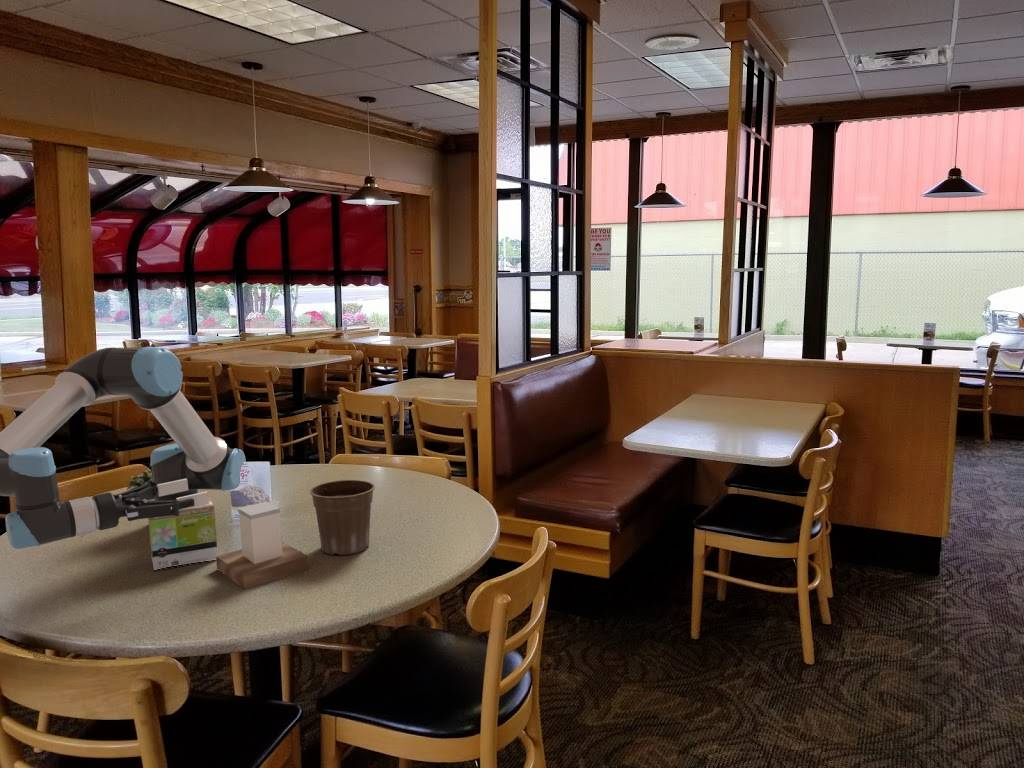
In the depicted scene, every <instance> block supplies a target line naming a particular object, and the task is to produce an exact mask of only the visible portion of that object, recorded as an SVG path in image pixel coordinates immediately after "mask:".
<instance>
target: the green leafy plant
mask: <svg viewBox="0 0 1024 768" xmlns="http://www.w3.org/2000/svg"><path fill="white" fill-rule="evenodd" d="M130 478H131V480H129V481H128V483H129V484H128V485H127V487H126V491H128V490H131V489H134V488H137V487H140V486H142V485H145V484H151V482H153V481H152V472H151V469H147V470H143V471H141V474H137V475H135V476H134V475H133V476H132V475H131V477H130Z"/></svg>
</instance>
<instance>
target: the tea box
mask: <svg viewBox="0 0 1024 768" xmlns="http://www.w3.org/2000/svg"><path fill="white" fill-rule="evenodd" d="M208 499H209V504H206V505H202V506H198V507H193V508H189V509H185V510H181V511H179V514H180V515H178V516H175V515H173V516H164V517H154V518H147V520H148V521H147V522H148V530H149V531H148V532H149V533H148V534H149V546H150V554H151V555H150V556H151V562H152V565H153V566H152V567H153V570H154V569H158V568H164V567H170V566H175V565H180V564H187V563H194V562H200V561H206V560H212V559H216V556H218V542H217V541H218V540H217V527H216V513H215V512H216V511H215V504H214V503H213V500H212V499H211V496H210V495H208ZM171 508H172V507H171Z"/></svg>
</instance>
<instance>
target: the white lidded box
mask: <svg viewBox="0 0 1024 768" xmlns="http://www.w3.org/2000/svg"><path fill="white" fill-rule="evenodd" d="M280 513H281V511H280V507H278V506H276V505H275V504H274V505H273V504H272V503H270V502H268V501H264V502H260V503H255V504H252V505H248V506H242V507H239V508H238V514H239V515H238V516H239V528H240V530H239V531H240V542H241V549H242V554H243V556H244V557H245V558H247V559H248V560H249V561H251V562H252V563H254V564H256V563H260V562H263V561H267V560H270V559H274V558H277V557H281V556H283V555H282V542H283V541H282V531H281V530H282V529H281V516H280Z"/></svg>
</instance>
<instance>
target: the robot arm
mask: <svg viewBox="0 0 1024 768" xmlns="http://www.w3.org/2000/svg"><path fill="white" fill-rule="evenodd" d="M182 367H183V366H182V364H181V362H180V360H179V358H178V357H177V356H176V354H174V353H173V352H172V351H170V350H169V349H167V348H163V347H155V346H142V347H140V346H139V347H137V346H136V347H104V348H101V349H98V350H94V351H92V352H90V353H88V354H85V356H83V357H81V358H79V359H77V360H76V361H74V362H73V363H71V364H70V365H69V366H67V367H66V368H65V369H64V370H63V371H61V372H60V373H59V374H58V375H57V376H56V377H55V380H54V383H55V384H53V385H52V386H51V387H50V388H49V389H48V390H46V392H45V393H43V394H42V395H41V396H40V397H39V398H38V399H36V400H35V401H34V402H33V403H32V404H31V405H30V406H28V407H27V408H26V409H25V410H23V412H22V413H20V414H19V415H18V416H17V417H16V418H15V419H14V420H13V421H12V422H11V423H9V424H8V425H7V426H5V428H4V429H2V431H0V496H1V497H13V498H14V503H15V510H13V511H12V512H9V513H7V514H6V515H5V520H4V521H5V529H6V535H7V539H8V542H9V544H10V546H11V548H13V549H15V550H21V549H27V548H30V547H36V546H37V547H40V546H41V545H46V544H49V543H53V542H57V541H61V540H66V539H70V538H74V537H79V538H83V537H84V536H85V535H86V534H91V533H95V532H96V530H99V531H104V530H108V529H109V530H110V529H113V528H116V527H118V525H119V523H120V522H119V520H120V518H125V517H126V519H127V521H128V522H132V521H137V520H143V519H148V518H154V517H164V516H173V515H175V516H178V515H180V514H179V511H181V510H185V509H189V508H193V507H198V506H202V505H206V504H209V499H208V496H209V492H208V491H203V492H199V490H209V491H211V490H212V491H214V490H215V491H223V492H224V491H233V490H235V489H237V488H239V486H240V485H241V484H240V471H241V466H242V465H243V464H244V463H243V462H246V463H247V461H246V456H245V453H244V451H243V450H242V449H240V448H239V449H238V448H236V447H235V448H231V447H229V446H228V444H227V443H226V441H225V440H224V439H222V438H221V437H217V436H214V435H213V434H212V432H211V431H210V430H209V427H208V426H207V425H206V424H205V423H204V421H203V420H202V418H201V417H200V416H199V414H198V413H197V412H196V410H195V409H194V407H193V406H192V404H190V402H189V401H188V399H187V398H186V397H185V395H184V394H183V392H182V391H181V389H182V383H183V377H184V374H183V371H182V370H181V369H183V368H182ZM106 396H127V397H130V398H131V399H132V401H133V402H134V403H135V405H137V407H138V408H140V409H142V410H147V411H150V413H151V414H152V415H153V416H154V417H155V418H156V420H157V421H158V422H159V424H161V426H162V427H163V429H164V430H165V431H166V432H167V433H168V435H169V436H170V437H171V438H172V439H173V441H174V443H171V444H166V445H163V446H160V447H157V448H155V449H153V450H152V451H151V453H150V463H149V466H150V471H151V472H152V481H153V482H151V484H145V485H142V486H140V487H137V486H136V487H137V488H134V487H133V488H134V489H131V490H130V489H128V490H126V491H123V492H119V493H116V494H113V493H112V492H105V493H99V494H94V495H93V496H92V497H89V496H85V497H81V498H75V499H69V500H66V501H61V502H60V496H59V495H60V494H59V487H58V478H57V466H56V465H55V460H54V457H53V452H52V450H51V449H49V448H47V447H43V446H42V445H43V444H44V443H45V442H47V440H48V439H49V438H51V437H52V436H53V434H55V432H57V431H58V430H59V429H60V428H61V427H62V426H63V425H64V424H65V423H66V422H67V421H69V420H70V418H71V417H73V416H74V414H76V413H77V412H78V411H79V410H80V409H81V408H82V407H87V406H90V405H92V404H93V402H95V401H96V400H97V399H99V398H102V397H106ZM239 484H240V485H239ZM151 499H154V500H151ZM147 500H148V501H147ZM171 507H172V508H171Z"/></svg>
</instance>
